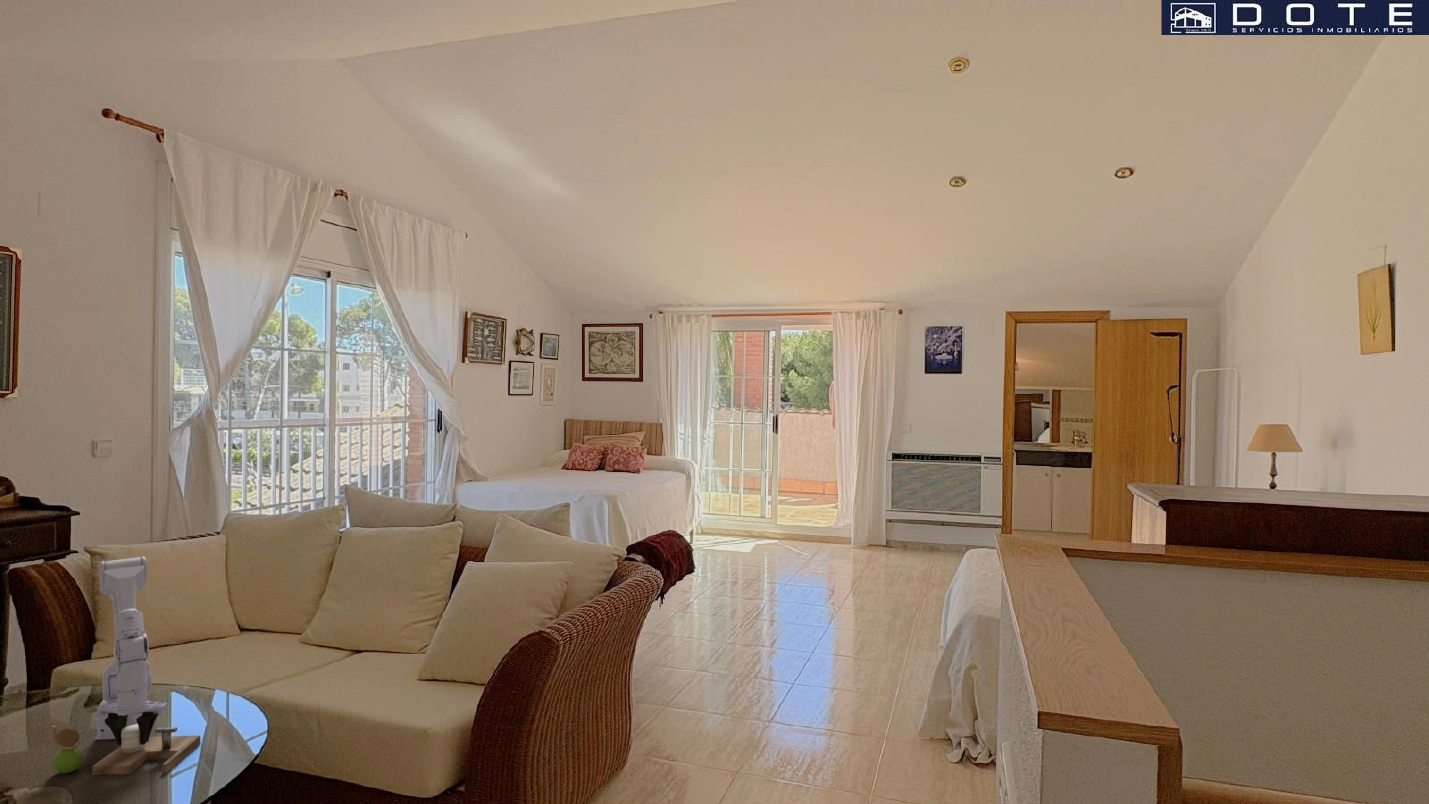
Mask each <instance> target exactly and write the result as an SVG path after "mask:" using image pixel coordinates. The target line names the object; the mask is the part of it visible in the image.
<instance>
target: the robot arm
mask: <svg viewBox="0 0 1429 804" xmlns="http://www.w3.org/2000/svg"><path fill="white" fill-rule="evenodd" d="M147 578H148V560H147V557H145V556H144V555H143V556H142V555H141V556H139V557H138V556H137V557H129V558H121V559H112V560H101V561H100V562H99V563H98V581H99V590H100V591H101V595H105V596H109V597H110V600H111V601H112V606H113V608H112V609H113V628H114V629H113V630H114V643H113V660H114V661H112V663H110V664H109V665H108V666H106V668H105V669H104V670H103V672H102V682H101V683H102V685H101V686H102V701H101V702H100V704H99V705H98V707H97V708H96V709H97V710H96V731H97V732H96V734H97V735H96V737H95V738H94V740H98V741H99V740H115V742H116V744H117V746H120V745H121V744H122V739H121V730H122V729H123V728H125V727H127V726H130V725H135V724H138V726H139V731H140V744H141V745H144V744H145V743H147V742H148V741H149V737H151V732H152V730H153V726H154V724H155V722H156V720H157V718H158V716H159V715H163V714H165V713H166V712H167V711H168V703H167V702H156V701H153V700H152V701H151V700H148V694H149V693H150V692H151V691H152V673H151V672H152V671H151V665H150V663H149V661H147V660H148V659H149V655H150V653H149V652H150V645H149V644H150V643H149V638H148V635H147V632H146V630H145V625H144V616H143V615H144V614H143V612H142V611H140V610H138V609H137V593H138V592H139V591H141V590H143V589H145V585H146V584H147ZM145 657H146V658H145Z"/></svg>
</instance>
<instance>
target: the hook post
mask: <svg viewBox="0 0 1429 804" xmlns="http://www.w3.org/2000/svg"><path fill="white" fill-rule="evenodd" d="M154 732H155V734H157V733H158V734H159V733H160V734H161V737H162V749H163V750H166V749H169V748H171V736H172V733H176V732H178V727H177V726H176V727H175V726H173V727H172V726H170V727H169V726H167V727H156V728H155V731H154Z"/></svg>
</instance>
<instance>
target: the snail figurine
mask: <svg viewBox="0 0 1429 804" xmlns="http://www.w3.org/2000/svg"><path fill="white" fill-rule="evenodd" d="M53 723H54V720H51V721H48V723H47V724H48V725H49V728H48V731H49V733H50V736H51V740H52V742H53V744H54V746H55V747H56V748H58V749H59V750H60V751H58V752H57V754H55V756H54V758H53V759H52V762H51V763H52V768H53V769H54V771H55V772H56V773H59V774H70V773H72V772H74V771H76V770H77V769H78V768H79V767H80V766H81V764H82V763H83V759H84V755H83V752H82V750H80V749H79V748H78V747H79V746H80V744H79V743H78V742H79V739H80V734H79V731H78V730H77V729H76V728H73V727H65V728H62V729H61V730H60V731H59V732H57V731H58V727H57V726H56V725H52V724H53Z"/></svg>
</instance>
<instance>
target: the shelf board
mask: <svg viewBox="0 0 1429 804" xmlns="http://www.w3.org/2000/svg"><path fill="white" fill-rule="evenodd" d="M200 744H201V735H171V748H169V749H166V750H163V749H162V736H150V737H149V741H148V742H147V743H145V747H144V748H143V749H142V750H140V751H137V752H134V753H123V752H122V748H121V745H118V746H117V748H115V749H114V750H112V751H111V752H110V753H109V754H106V756H105V757H103V758H102V759H100V760H99V761H97V762H96V763H95V764H93V766H92V776H101V775H103V776H104V775H106V776H107V775H130V774H132V773H133V772H134V771H135V770H137V769H138V768H139V767H140V766H141V765H143V764H144V763H145V762H147V761H148V760H150V761H151V760H165V762H163V763H162V764H161V767H162V768H161V771H162V774H167V773H168V772H170V771H171V770H172V769H173V768H174V767H175V766H176V765H178V764H179V763H180V762H181V761H182V760H183V759H185V758H186V757H187V756H188V755H189V754H190V753H191V752H192V751H193V750H195V749H196V748H197V747H199V745H200Z"/></svg>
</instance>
